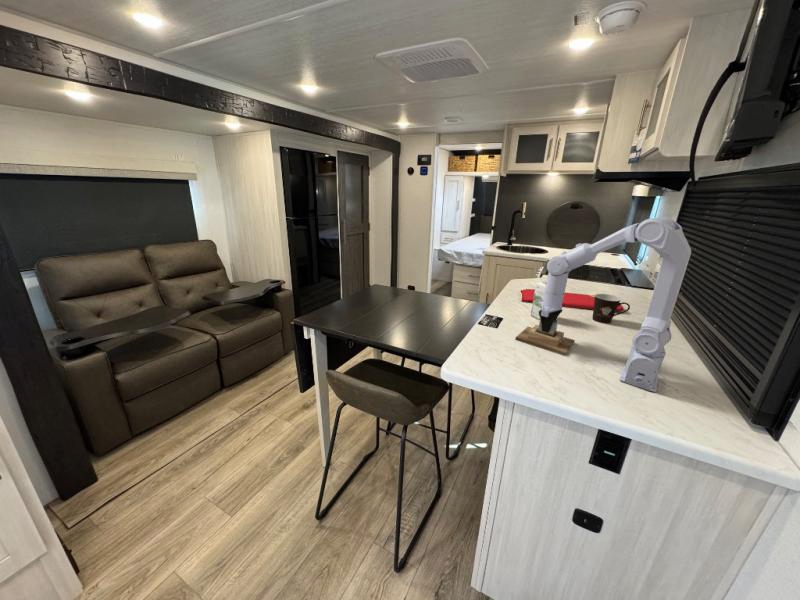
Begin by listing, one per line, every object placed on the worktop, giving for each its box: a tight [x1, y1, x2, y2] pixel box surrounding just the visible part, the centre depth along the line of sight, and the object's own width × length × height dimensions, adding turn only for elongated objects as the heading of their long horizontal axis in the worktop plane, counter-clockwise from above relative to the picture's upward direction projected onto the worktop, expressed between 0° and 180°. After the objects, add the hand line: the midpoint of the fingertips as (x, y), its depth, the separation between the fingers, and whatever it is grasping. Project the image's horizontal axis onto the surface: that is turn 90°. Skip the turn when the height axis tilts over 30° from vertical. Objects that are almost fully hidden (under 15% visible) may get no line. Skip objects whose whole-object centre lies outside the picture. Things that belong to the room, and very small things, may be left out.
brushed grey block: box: [538, 319, 559, 337], centre depth 105 cm, size 3×5×7 cm, turn 49°
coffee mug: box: [592, 293, 631, 325], centre depth 122 cm, size 12×9×10 cm
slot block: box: [515, 324, 576, 357], centre depth 106 cm, size 12×16×4 cm
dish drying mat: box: [520, 288, 625, 312], centre depth 144 cm, size 16×41×4 cm, turn 72°
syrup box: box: [530, 281, 547, 321], centre depth 124 cm, size 6×6×14 cm
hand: (546, 329), depth 105 cm, fingers closed on brushed grey block, 3 cm apart
